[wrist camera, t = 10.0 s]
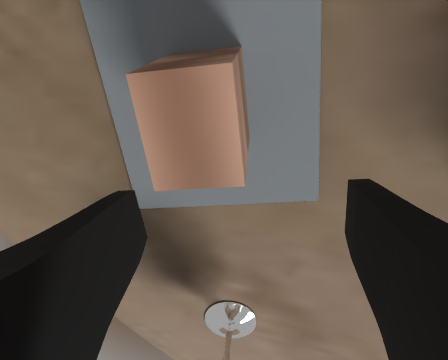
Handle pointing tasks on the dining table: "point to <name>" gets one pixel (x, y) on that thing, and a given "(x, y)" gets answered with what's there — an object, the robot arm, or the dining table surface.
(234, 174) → the block
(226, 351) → the wineglass
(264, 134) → the mat
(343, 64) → the dining table surface
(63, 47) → the dining table surface
